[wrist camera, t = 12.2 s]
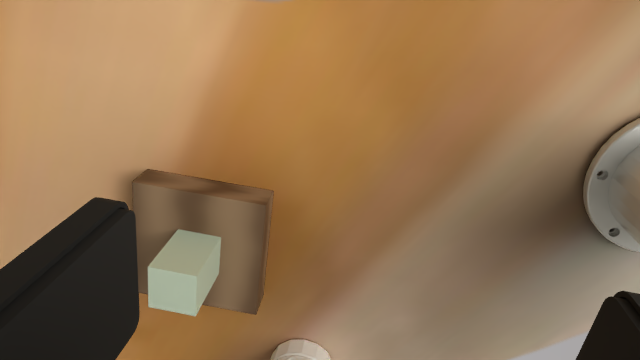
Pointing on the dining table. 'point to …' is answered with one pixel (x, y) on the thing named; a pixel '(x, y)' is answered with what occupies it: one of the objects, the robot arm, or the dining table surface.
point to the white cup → (300, 351)
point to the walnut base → (207, 230)
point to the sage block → (184, 272)
